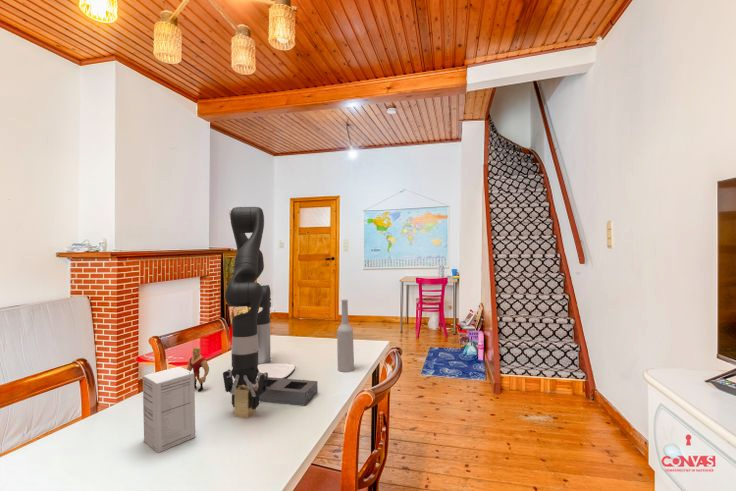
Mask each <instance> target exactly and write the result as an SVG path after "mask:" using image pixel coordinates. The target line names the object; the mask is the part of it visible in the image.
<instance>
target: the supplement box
mask: <svg viewBox="0 0 736 491" xmlns="http://www.w3.org/2000/svg"><path fill="white" fill-rule="evenodd" d="M195 392H196V391H195V388H194V373H193V371H192V370H191V371H189V370H187V368H184V367H182V366H176V367H171V368H167V369H164V370H160V371H156V372H152V373H149V374H146V375H143V376H142V401H143V402H142V404H143V405H142V406H143V408H142V409H143V411H142V414H143V441H144V442H145V443H146V444H147V445H148V446H149V447H150V448H151V449H152V450H153V451H155V452H156V453H161V452H162V451H165V450H167V449H170V448H173V447H175V446H178V445H179V444H182V443H185V442H187V441H189V440H192V439H193V438H196V403H195V402H196V400H195V398H196V397H195Z"/></svg>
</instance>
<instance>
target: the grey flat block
mask: <svg viewBox="0 0 736 491" xmlns="http://www.w3.org/2000/svg"><path fill="white" fill-rule="evenodd" d="M256 379H257V382H258V386H259V380H258V377H257V378H256ZM252 384H253V383H252ZM318 391H319V390H318V380H307V379H296V378H295V379H294V378H272V377H268V378H267V384H266V391H265V392H264V393H262V394H261V395H259V402H265V403H276V404H284V405H285V404H287V405H295V406H303V407H304V406H306V405H307V404H309V402H310V401H311V400H313V399H314V397H315V396H317V395H318Z"/></svg>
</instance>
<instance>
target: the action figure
mask: <svg viewBox="0 0 736 491" xmlns="http://www.w3.org/2000/svg"><path fill="white" fill-rule="evenodd" d="M201 368H202V369H203V370H204V374H203V376H201V377H200V373H201V372H200V369H201ZM186 370H189V371H191V372H193V373H194V389H196V388H197V387H198V386H197V382H198V383H199V385H200V386H199V388H198V390H197V392H201V391H202V390H204V384H203V383H205V382H206V379H207V376H208V374H209V372H210V367H209V364H208V361H207V359H205V357H203V356H202V355H201V348H200V347H197V346H194V347H193V348H192V357H190V358H189V360H188V361H187V367H186Z"/></svg>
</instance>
